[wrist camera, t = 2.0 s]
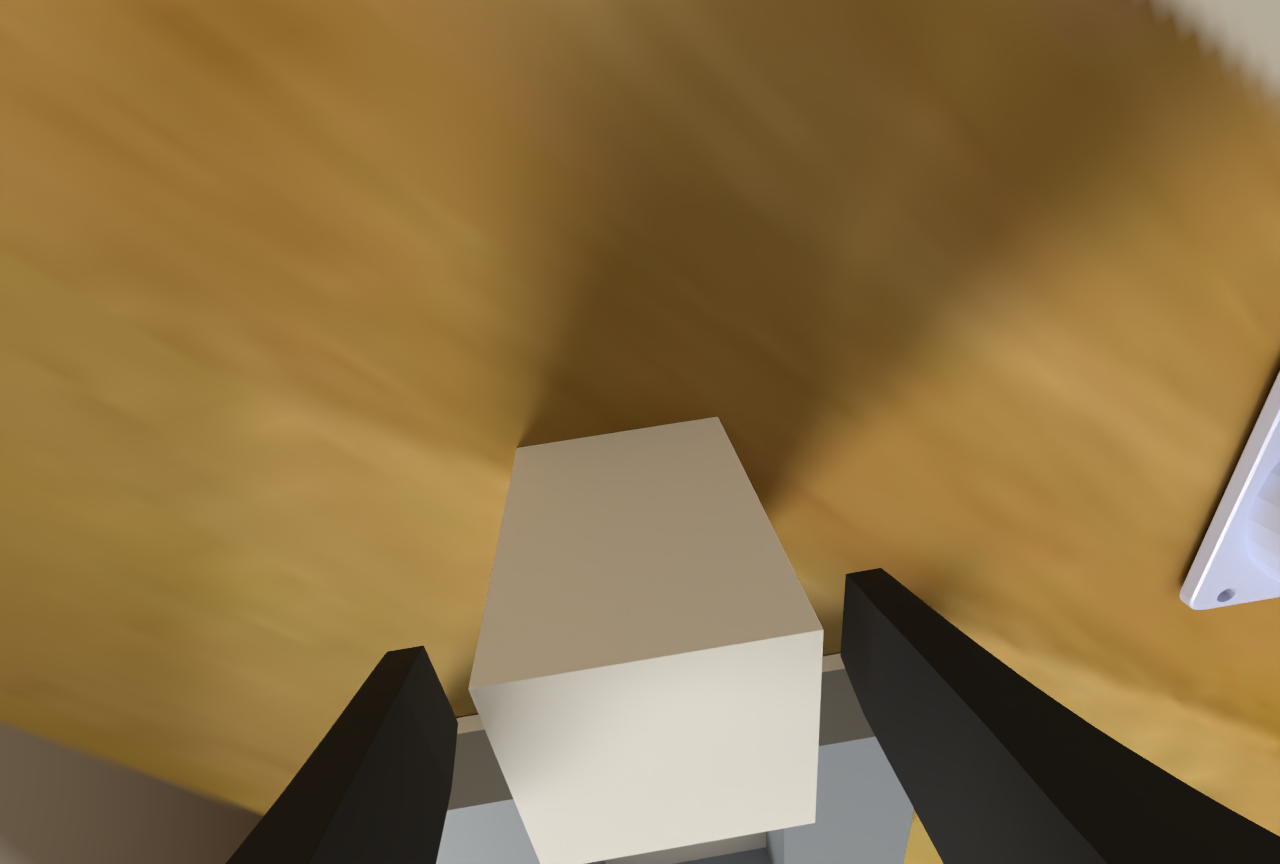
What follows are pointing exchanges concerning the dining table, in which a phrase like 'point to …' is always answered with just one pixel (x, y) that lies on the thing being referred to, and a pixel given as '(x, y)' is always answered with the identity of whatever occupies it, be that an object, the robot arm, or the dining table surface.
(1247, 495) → the robot arm
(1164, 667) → the dining table surface
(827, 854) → the outlet box
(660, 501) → the block
